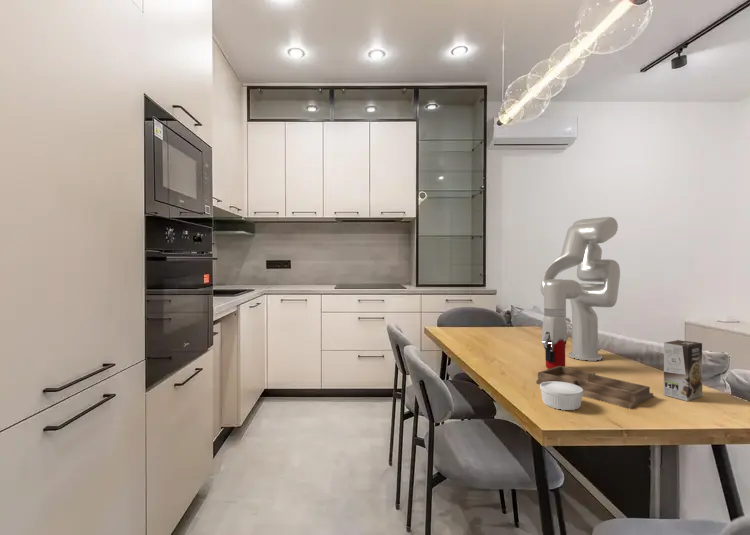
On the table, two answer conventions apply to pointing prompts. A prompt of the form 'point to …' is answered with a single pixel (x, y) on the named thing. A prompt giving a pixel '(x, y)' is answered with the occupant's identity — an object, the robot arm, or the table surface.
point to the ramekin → (561, 395)
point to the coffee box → (683, 369)
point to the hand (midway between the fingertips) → (555, 359)
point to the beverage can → (557, 355)
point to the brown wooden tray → (599, 386)
